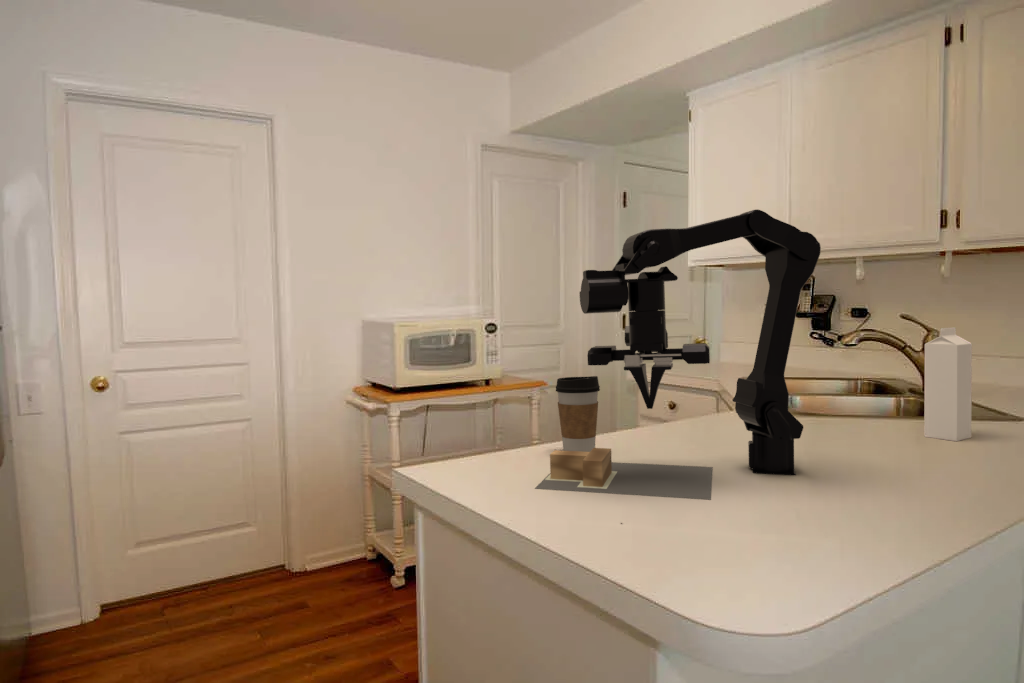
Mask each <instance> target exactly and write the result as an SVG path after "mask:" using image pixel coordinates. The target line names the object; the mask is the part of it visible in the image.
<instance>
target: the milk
mask: <svg viewBox="0 0 1024 683" xmlns="http://www.w3.org/2000/svg"><path fill="white" fill-rule="evenodd" d="M956 331H957V328H956V327H955V326H953V327H942V328H940V331H939V332H940V335H939V336H937V337H935V338H934V339H932V340H930V341H927V342H926V343H924V394H923V395H924V401H923V402H924V403H923V404H924V409H923V411H924V414H923V416H924V419H923V420H924V422H923V423H924V424H923V425H924V431H923V432H924V435H923V436H924V437H925V438H930V439H938V440H945V441H952V442H959V441H963V440H967V439H970V438H972V396H973V395H972V394H973V392H972V391H973V390H972V385H973V384H972V380H973V379H972V378H973V376H972V375H973V373H972V372H973V366H972V362H973V361H972V360H973V344H972V342H970V341H968V340H966V339H965V338H963V337H961V336H959V335H958V334H957V333H956Z"/></svg>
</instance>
